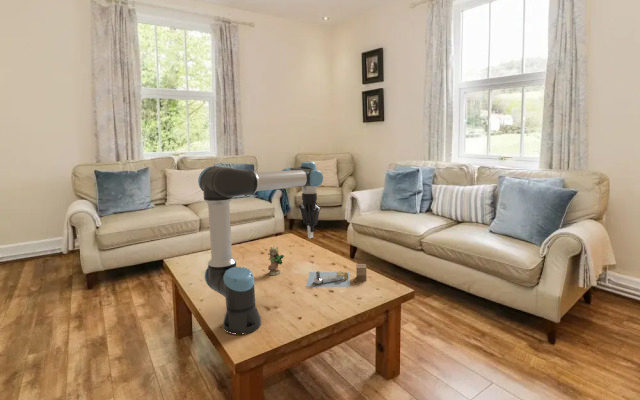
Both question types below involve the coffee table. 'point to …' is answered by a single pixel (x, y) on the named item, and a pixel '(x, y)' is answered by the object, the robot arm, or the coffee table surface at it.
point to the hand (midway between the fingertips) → (310, 237)
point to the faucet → (327, 279)
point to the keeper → (343, 275)
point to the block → (361, 272)
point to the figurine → (274, 261)
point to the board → (329, 284)
